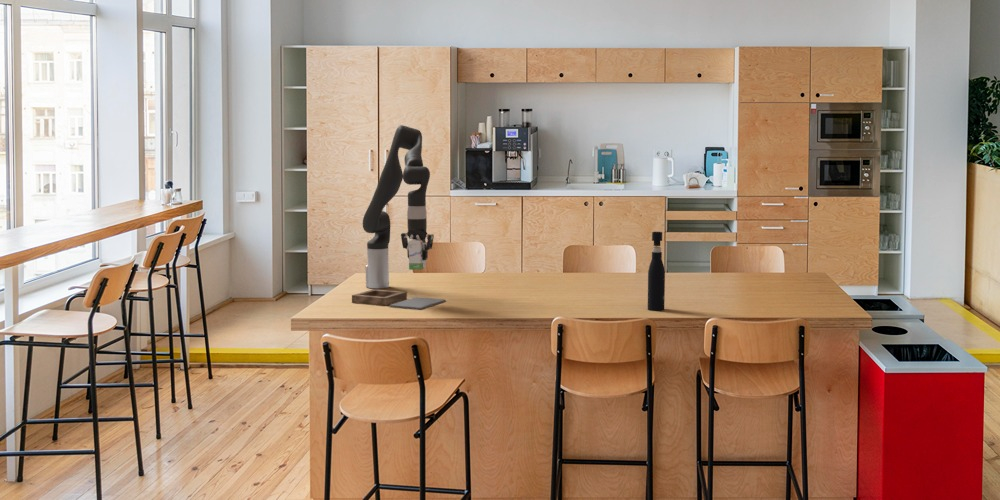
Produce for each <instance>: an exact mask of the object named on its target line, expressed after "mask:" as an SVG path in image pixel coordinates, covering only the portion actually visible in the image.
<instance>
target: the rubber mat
mask: <svg viewBox="0 0 1000 500" xmlns="http://www.w3.org/2000/svg"><path fill="white" fill-rule="evenodd" d="M445 302H447V300H446V299H444V298H443V299H441V298H430V297H418V296H415V297H411V298H409V299H408V298H407V299H406V300H403V301H400V302H396V303H393V304H390V305H389V308H397V309H406V310H418V311H420V310H425V309H427V308H431V307H434V306H437V305H439V304H443V303H445Z"/></svg>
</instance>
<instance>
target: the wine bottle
mask: <svg viewBox="0 0 1000 500" xmlns="http://www.w3.org/2000/svg"><path fill="white" fill-rule="evenodd" d="M651 241H652V242H653V247H652V252H651V261H650V263H649V266H648V272H647V274H648V275H647V310H648V311H653V312H660V311H661V312H662V311H664V310H665V300H666V299H665V298H666V297H665V295H666V294H665V291H666V290H665V288H666V287H665V286H666V284H665V283H666V271H665V266H664V262H663V258H662V257H663V252H662V247H661V242H662V241H663V232H662V231H652V233H651Z"/></svg>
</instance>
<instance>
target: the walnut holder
mask: <svg viewBox="0 0 1000 500" xmlns="http://www.w3.org/2000/svg"><path fill="white" fill-rule="evenodd" d="M405 300H408V295H407V291H398V290H386V289H385V290H384V289H376V288H372V289H370V290H366V291H362V292H358V293H356V294H351V303H353V304H363V305H373V306H374V305H376V306H390V305H392V304H395V303H398V302H401V301H405Z"/></svg>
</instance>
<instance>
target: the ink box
mask: <svg viewBox="0 0 1000 500" xmlns="http://www.w3.org/2000/svg"><path fill="white" fill-rule="evenodd" d="M409 239H410V238H409ZM425 240H426V241H427V238H425ZM408 242H409V258H408V270H409V271H415V270H416V271H421V270H424V269H425V268H426V267H427V260H422V251H423V250H422V242H423V243H424V241H422V240H416V239H410V240H408Z"/></svg>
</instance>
